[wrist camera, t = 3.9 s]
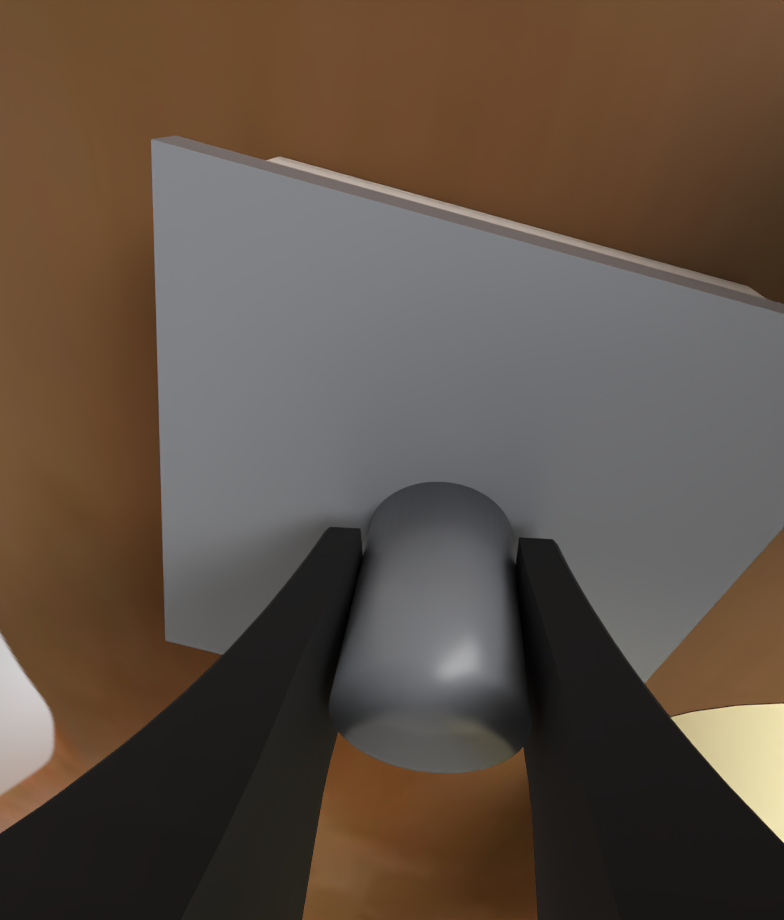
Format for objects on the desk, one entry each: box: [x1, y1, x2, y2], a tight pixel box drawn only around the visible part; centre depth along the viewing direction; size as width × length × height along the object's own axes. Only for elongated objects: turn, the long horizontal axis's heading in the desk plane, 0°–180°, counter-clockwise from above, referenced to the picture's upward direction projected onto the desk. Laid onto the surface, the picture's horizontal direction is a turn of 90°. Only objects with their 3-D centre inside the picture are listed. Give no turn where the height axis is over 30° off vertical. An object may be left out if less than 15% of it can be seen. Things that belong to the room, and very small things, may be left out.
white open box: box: [266, 156, 766, 299], centre depth 14 cm, size 11×11×4 cm
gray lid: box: [151, 136, 784, 773], centre depth 10 cm, size 12×12×5 cm
